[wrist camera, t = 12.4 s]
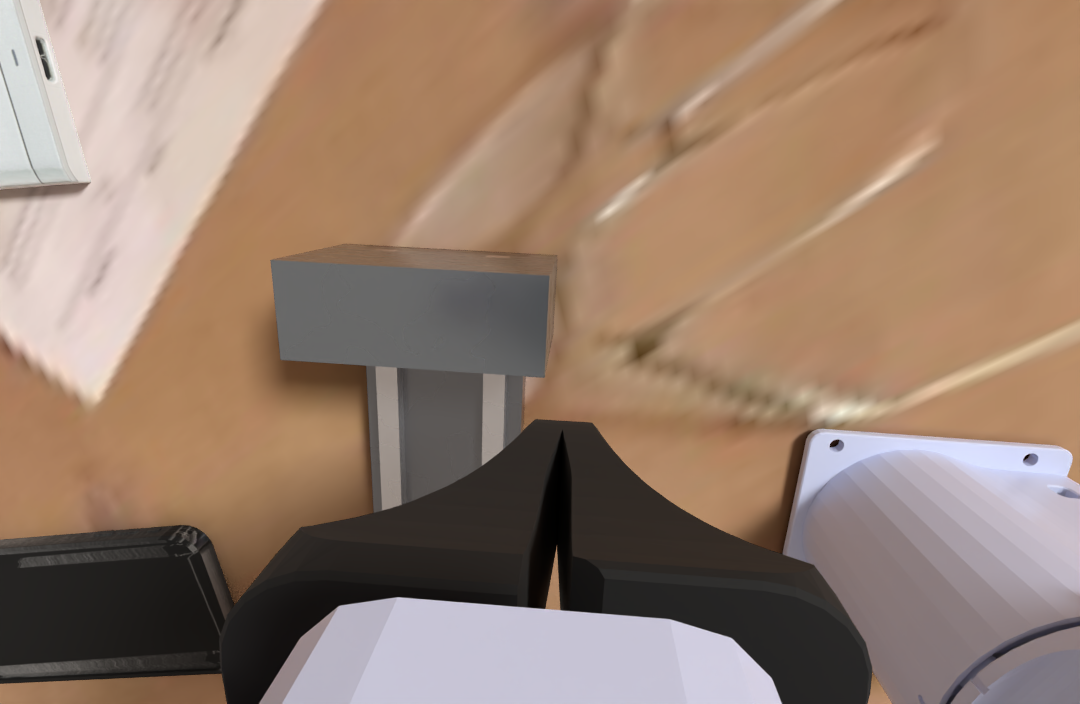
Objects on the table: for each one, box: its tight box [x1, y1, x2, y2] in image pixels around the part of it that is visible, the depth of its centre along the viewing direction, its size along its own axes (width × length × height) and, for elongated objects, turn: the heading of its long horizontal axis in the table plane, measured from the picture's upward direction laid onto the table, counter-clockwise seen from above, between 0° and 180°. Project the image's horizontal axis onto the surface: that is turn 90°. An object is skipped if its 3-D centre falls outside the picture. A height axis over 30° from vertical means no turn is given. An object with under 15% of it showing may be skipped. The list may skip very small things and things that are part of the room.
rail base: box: [271, 244, 557, 513], centre depth 21 cm, size 8×30×6 cm, turn 177°
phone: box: [0, 525, 234, 684], centre depth 26 cm, size 8×1×15 cm
